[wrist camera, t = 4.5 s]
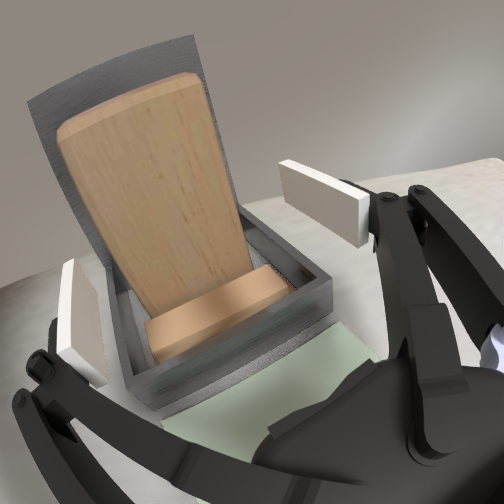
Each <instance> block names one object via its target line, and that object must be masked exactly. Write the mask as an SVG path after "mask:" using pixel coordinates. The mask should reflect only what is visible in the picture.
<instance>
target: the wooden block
mask: <svg viewBox="0 0 504 504" xmlns="http://www.w3.org/2000/svg"><path fill="white" fill-rule="evenodd" d="M57 145H58V147H59V150H60V152H61V155H62V157H63V160H64V162H65V164H66V166H67V169H68V171H69V173H70V176H71V178H72V180H73V182H74V184H75V186H76V189H77V191H78V193H79V195H80V197H81V199H82V201H83V203H84V205H85V207H86V209H87V211H88V213H89V215H90V217H91V219H92V221H93V223H94V225H95V226H96V228H97V230H98V232H99V234H100V236H101V238H102V239H103V241H104V243H105V245H106V246H107V248H108V250H109V252H110V253H111V255H112V257H113V259H114V260H115V262H116V264H117V265H118V267H119V269H120V270H121V272H122V274H123V275H124V277H125V279H126V280H127V282H128V283H129V285H130V287H131V288H132V290H133V291H134V293H135V294H136V296H137V297H138V299H139V300H140V302H141V304H142V305H143V307H144V308H145V309H146V311H147V312H148V314H149V315H150V317H151V318H152V319H154V318H156V317H158V316H160V315H162V314H164V313H166V312H168V311H171V310H173V309H175V308H177V307H179V306H181V305H183V304H185V303H187V302H189V301H192V300H194V299H196V298H198V297H200V296H202V295H204V294H206V293H208V292H210V291H212V290H214V289H217V288H219V287H221V286H223V285H225V284H227V283H229V282H231V281H233V280H235V279H237V278H239V277H241V276H243V275H245V274H247V273H249V272H252V271H254V268H253V265H252V261H251V258H250V254H249V250H248V247H247V243H246V239H245V236H244V232H243V229H242V225H241V221H240V218H239V214H238V210H237V207H236V203H235V199H234V196H233V192H232V189H231V185H230V181H229V178H228V174H227V170H226V167H225V163H224V159H223V156H222V152H221V148H220V145H219V141H218V137H217V134H216V130H215V126H214V123H213V119H212V115H211V112H210V108H209V104H208V101H207V97H206V93H205V90H204V86H203V82H202V81H201V80H200V78H199V77H198V76H197V75H196V73H185V72H184V73H180V74H177V75H174V76H171V77H167V78H164V79H161V80H158V81H156V82H153V83H150V84H147V85H144V86H142V87H139V88H136V89H134V90H131V91H129V92H126V93H124V94H121V95H119V96H117V97H114V98H112V99H110V100H107V101H105V102H103V103H101V104H99V105H96V106H94V107H92V108H90V109H88V110H86V111H84V112H82V113H80V114H78V115H76V116H74V117H72V118H70V119H69V120H67V121H65V122H64V123H63V124H62V125H61V126H60V128H59V129H58V130H57Z"/></svg>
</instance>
